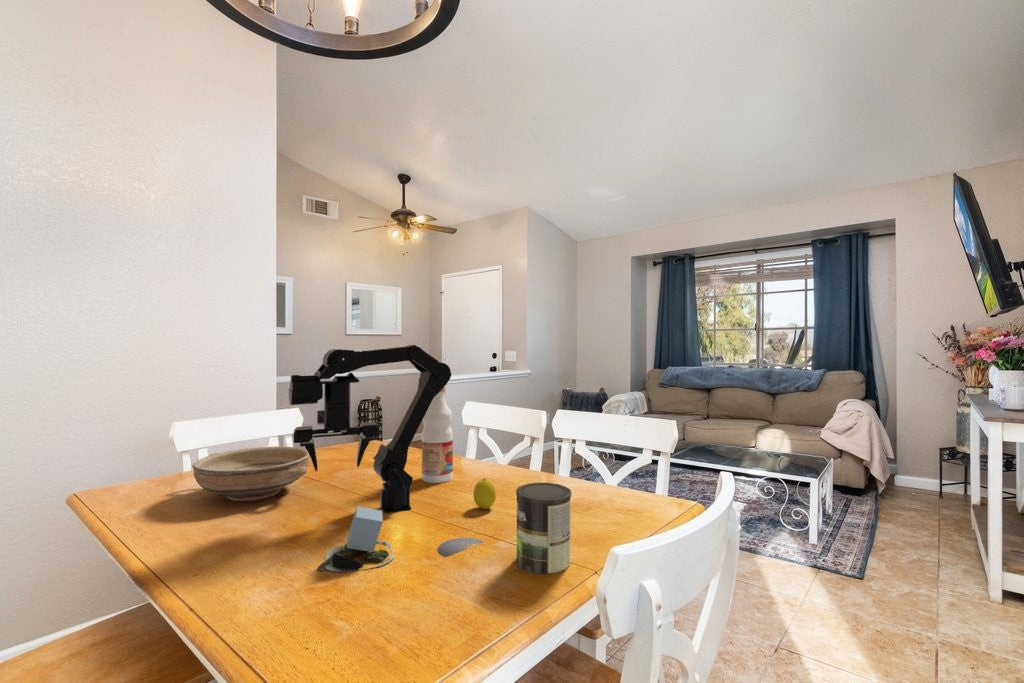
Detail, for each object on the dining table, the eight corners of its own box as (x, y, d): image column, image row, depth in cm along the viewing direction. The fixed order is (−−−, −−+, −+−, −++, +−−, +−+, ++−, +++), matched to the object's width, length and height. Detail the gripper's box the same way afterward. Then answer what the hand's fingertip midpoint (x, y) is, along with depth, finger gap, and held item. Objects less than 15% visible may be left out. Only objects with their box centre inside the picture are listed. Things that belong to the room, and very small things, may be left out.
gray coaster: (478, 537, 102) (478, 534, 102) (495, 556, 92) (495, 553, 92) (432, 545, 98) (432, 542, 98) (445, 566, 88) (445, 563, 88)
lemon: (492, 515, 115) (493, 482, 115) (470, 513, 116) (470, 480, 116) (498, 507, 120) (498, 475, 120) (476, 505, 121) (477, 474, 121)
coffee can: (518, 580, 83) (518, 500, 83) (513, 554, 93) (513, 482, 93) (576, 578, 84) (576, 498, 84) (565, 552, 94) (565, 481, 94)
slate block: (373, 539, 95) (382, 510, 95) (373, 552, 90) (382, 521, 90) (347, 535, 93) (356, 506, 93) (346, 547, 89) (356, 517, 89)
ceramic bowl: (158, 499, 127) (158, 461, 127) (257, 472, 152) (257, 441, 152) (249, 521, 111) (249, 478, 111) (342, 488, 136) (342, 453, 136)
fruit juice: (420, 476, 148) (420, 386, 148) (450, 474, 151) (450, 385, 151) (422, 485, 139) (422, 389, 139) (454, 482, 142) (454, 388, 142)
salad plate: (323, 548, 97) (323, 531, 98) (391, 540, 101) (391, 523, 101) (315, 582, 83) (315, 562, 83) (395, 572, 87) (395, 553, 87)
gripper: (373, 396, 123) (373, 457, 123) (294, 400, 116) (294, 464, 116) (379, 401, 113) (380, 467, 113) (293, 406, 105) (293, 476, 105)
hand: (337, 468), depth 112 cm, fingers open, 9 cm apart
